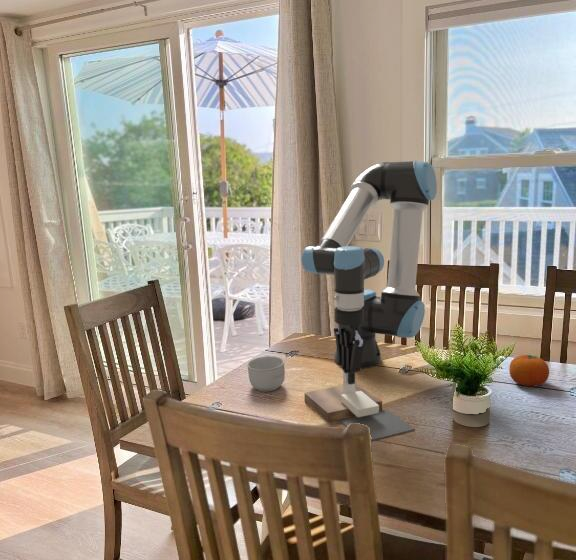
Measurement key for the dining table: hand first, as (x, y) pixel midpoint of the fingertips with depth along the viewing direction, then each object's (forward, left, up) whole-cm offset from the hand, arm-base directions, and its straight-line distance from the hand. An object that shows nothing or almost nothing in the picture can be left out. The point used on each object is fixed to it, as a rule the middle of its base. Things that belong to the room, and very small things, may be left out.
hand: (349, 393), depth 147 cm
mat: (-1, +12, -4) cm, 12 cm away
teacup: (+14, -24, -4) cm, 28 cm away
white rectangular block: (0, +5, -2) cm, 5 cm away
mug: (-30, +12, -4) cm, 33 cm away
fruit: (-54, +9, -4) cm, 55 cm away
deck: (+1, -2, -4) cm, 5 cm away
